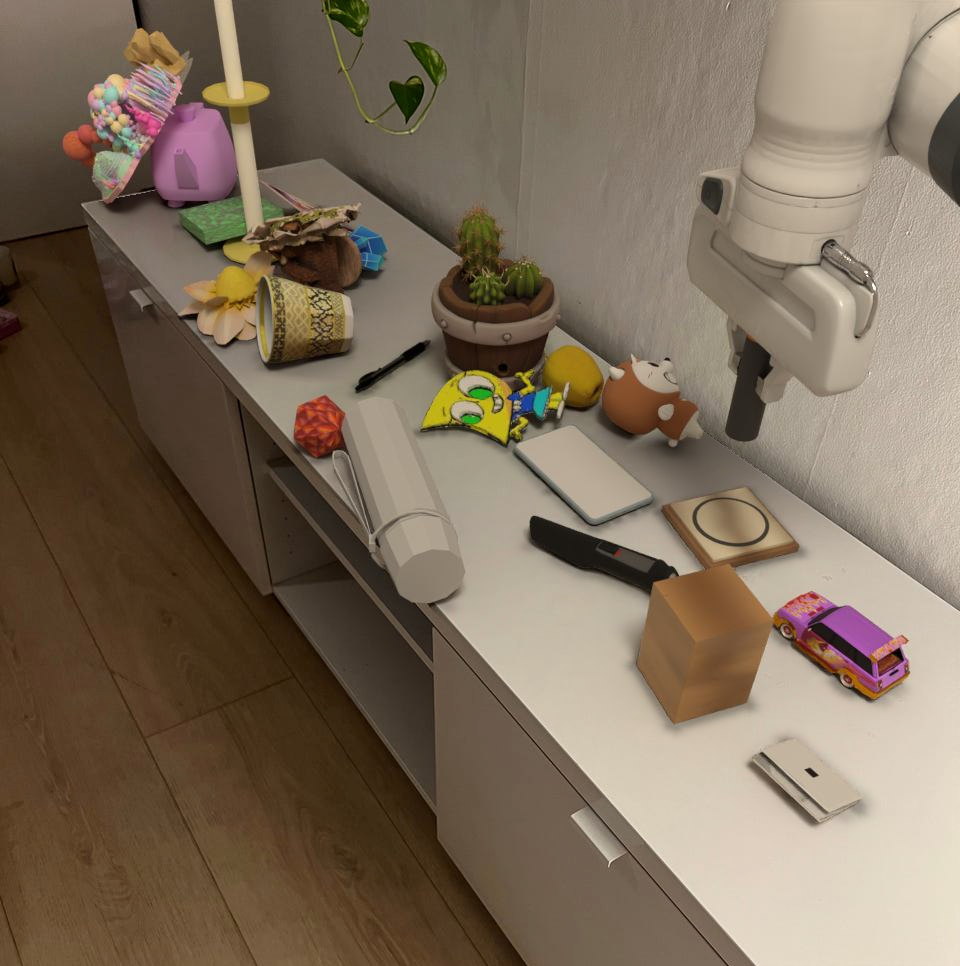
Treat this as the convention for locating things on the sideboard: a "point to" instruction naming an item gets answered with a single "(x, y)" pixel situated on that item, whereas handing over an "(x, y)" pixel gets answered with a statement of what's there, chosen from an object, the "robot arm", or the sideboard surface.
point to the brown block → (703, 642)
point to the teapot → (193, 156)
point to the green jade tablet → (223, 218)
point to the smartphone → (583, 474)
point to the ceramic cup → (300, 320)
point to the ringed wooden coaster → (729, 528)
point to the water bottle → (400, 502)
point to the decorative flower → (230, 300)
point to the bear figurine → (306, 244)
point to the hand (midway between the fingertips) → (753, 384)
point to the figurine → (649, 401)
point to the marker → (748, 393)
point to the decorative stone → (319, 426)
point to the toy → (491, 405)
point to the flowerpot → (493, 306)
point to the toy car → (845, 643)
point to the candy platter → (129, 112)
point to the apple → (573, 375)
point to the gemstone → (358, 254)
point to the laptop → (806, 779)
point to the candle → (239, 128)
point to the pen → (391, 365)
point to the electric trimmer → (600, 554)
